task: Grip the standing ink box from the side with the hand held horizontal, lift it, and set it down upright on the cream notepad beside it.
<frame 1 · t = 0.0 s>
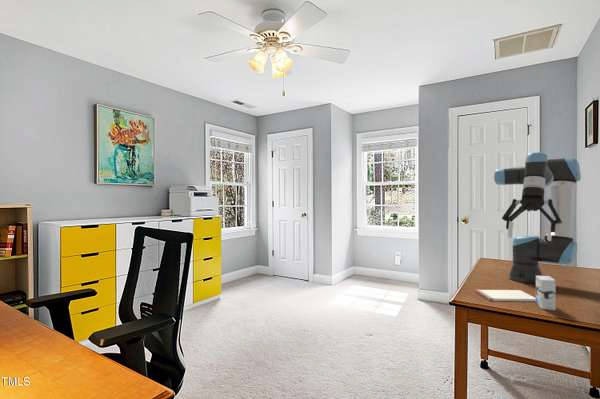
hand: (528, 238, 137), 28 cm above the table, tool tilted 20°, fingers open, 13 cm apart
ink box: (545, 306, 138), on the table
notepad: (505, 296, 152), on the table
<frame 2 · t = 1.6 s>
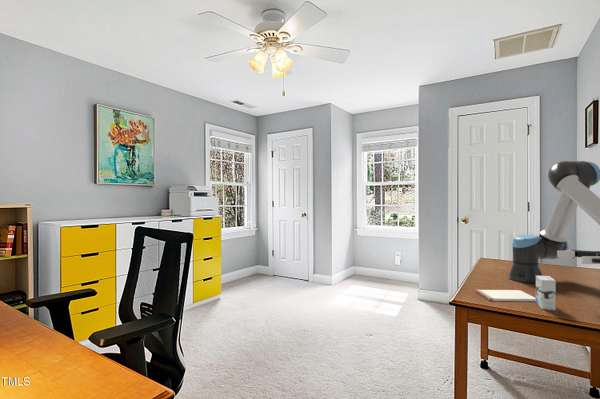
hand: (569, 256, 137), 20 cm above the table, tool horizontal, fingers open, 13 cm apart
nothing on the table moved.
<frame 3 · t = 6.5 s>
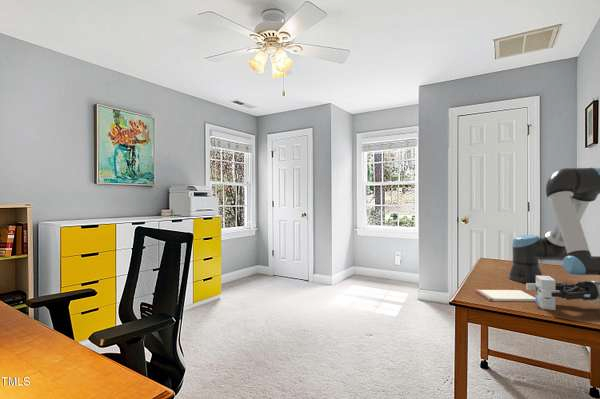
hand: (534, 290, 138), 7 cm above the table, tool horizontal, fingers closed on ink box, 9 cm apart
ink box: (545, 306, 138), on the table, touching gripper
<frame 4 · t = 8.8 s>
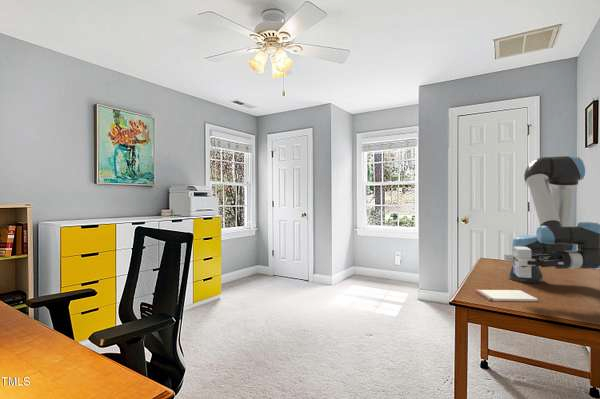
hand: (511, 259, 144), 18 cm above the table, tool horizontal, fingers closed on ink box, 9 cm apart
ink box: (521, 275, 144), point 11 cm above the table, touching gripper
when the fingers open (9 cm above the table, at t = 11.4 s): ink box drops 1 cm, resting on notepad.
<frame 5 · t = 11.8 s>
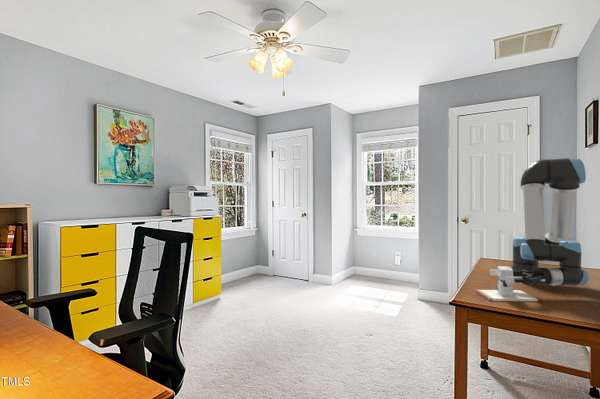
hand: (497, 276, 152), 9 cm above the table, tool horizontal, fingers open, 13 cm apart
ink box: (505, 294, 152), point 1 cm above the table, touching notepad
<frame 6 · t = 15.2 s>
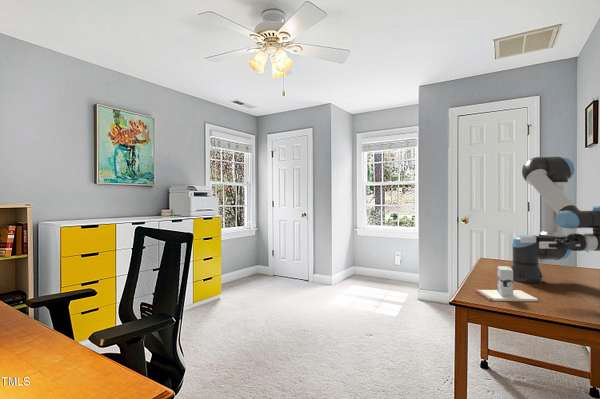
hand: (529, 242, 149), 24 cm above the table, tool horizontal, fingers open, 13 cm apart
nothing on the table moved.
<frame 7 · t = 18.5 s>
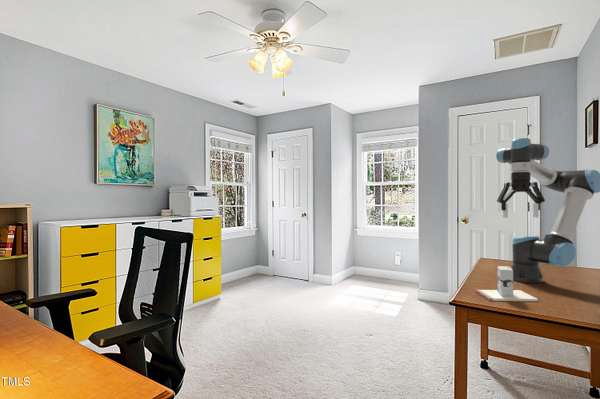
hand: (520, 217, 158), 35 cm above the table, tool pointing down, fingers open, 13 cm apart
nothing on the table moved.
at the end: ink box inside the target area (0.1 cm from its centre), point 0.8 cm above the table; ink box tilted 0°; the gripper is holding nothing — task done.
